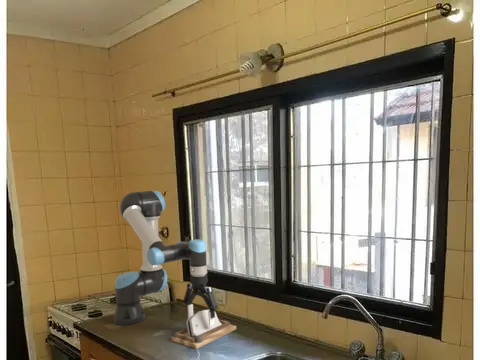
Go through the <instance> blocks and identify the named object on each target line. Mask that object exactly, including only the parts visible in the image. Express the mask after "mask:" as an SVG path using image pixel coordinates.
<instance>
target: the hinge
mask: <svg viewBox="0 0 480 360" xmlns="http://www.w3.org/2000/svg"><path fill="white" fill-rule="evenodd" d="M208 311H209V309H203V310H200V311H197V312H195V313H193V315H192V316H191V317H190V318H189V319H188V318H187V319H186V321H185V322H186V328H187V329H188V335H189V337H193V336H197V335H200V334H203V333H205V332H207V331H209V330H211V329H213V328H216V327H218V326H220V325H222V324H221V323H220V322H219V320H220V319H219V318H218V316H217V312H215V317H214V325H211V326H209V316H208ZM218 319H219V320H218Z"/></svg>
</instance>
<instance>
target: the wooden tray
mask: <svg viewBox="0 0 480 360" xmlns="http://www.w3.org/2000/svg"><path fill="white" fill-rule="evenodd" d="M218 320H219V322H220V323H221V324H222V325H220V326H218V327H216V328H213V329H211V330H209V331H207V332H205V333H203V334H200V335H197V336H193V337H189V335H188V329H187V327H185V328H183V329H181V330H178V331H177V332H174V333H173V335H172V336H171V337H170V340H171V341H173V342H175V343H178V344H181V345H184V346H186V347H190V348H193V349H196V350H198V349H199V348H201V347H204V346H205V345H208V344H210V343H212V342H214V341H216V340H217V339H219V338H221V337H224V336H225V335H228V334H230V333H233V332H234V331H236V330H237V326H236V325H233V324H231V323H230V321H227V320H223V319H219V318H218Z"/></svg>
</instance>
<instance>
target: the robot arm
mask: <svg viewBox="0 0 480 360" xmlns="http://www.w3.org/2000/svg"><path fill="white" fill-rule="evenodd" d="M165 201H166V200H165V198H164V196H163V195H162V193H161V192H160V191H158V190H143V191H132V192H129V193H126V194H125V195H124V196H123V197H122V199H121V201H120V203H119V213H120V216H121V217H122V219H123V220H124V221H126V222H128V223H129V225H130V226H131V228H132V229H133V232H135V234H136V235H137V236H138V238H139V240H140V241H141V249H142V250H141V251H142V265H141V267H140V268H139V272H138V271H136V270H132V271H127V272H123V273H121V274H118V276H117V277H116V278H115V285H114V288H115V298H116V300H115V301H116V307H115V312H114V316H113V323H114V324H115V325H120V326H125V325H133V324H138V323H140V322H142V321H144V319H145V317H146V316H145V311H144V307H143V306H142V302H141V297H144V296H148V295H151V294H155V293H159V292H161V291H163V290H164V289H165V288H166V287H167V284H168V275H167V271H166V270H165V268H164V267H163V266H162V265H164V264H168V263H171V262H177V261H181V260H188V261H189V272H190V283H187V284H186V290H185V293H184V294H185V295H184V298H183V303H184V304H186V312H187V320H188V319H189V318H190V317H191V316H192V315H194V303H193V302H194V300H195V299H196V296H199V297H200V298H202V300H203V301H204V302H205V304H206V307H207V308H208V310H209V311H208V316H209V326H211V325H214V317H215V313H216V310H218V309H219V305H218V303H217V300H216V297H215V295H214V291H213V287H212V286H209V287H208V285H207V283H208V267H207V266H208V264H207V262H208V261H207V246H206V241H205V239H198V238H197V239H191V240H189V242H187V241H177V242H176V243H175V244H167V245H166V244H165V243H164V242H163V240H162V239H161V237H160V236H159V219H160V218H161V216H162V214H161V213H162V212H164V210H165V208H166V202H165Z"/></svg>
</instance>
